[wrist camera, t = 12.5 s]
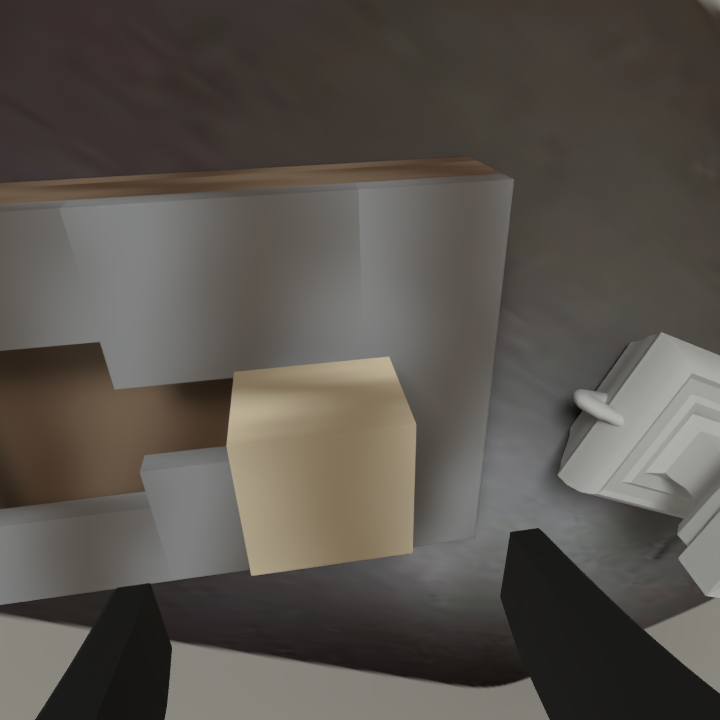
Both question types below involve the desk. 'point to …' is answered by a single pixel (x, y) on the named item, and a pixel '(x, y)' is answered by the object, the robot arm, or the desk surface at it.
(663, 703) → the robot arm
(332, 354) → the keyhole base
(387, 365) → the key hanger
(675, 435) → the stamp
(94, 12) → the desk surface
